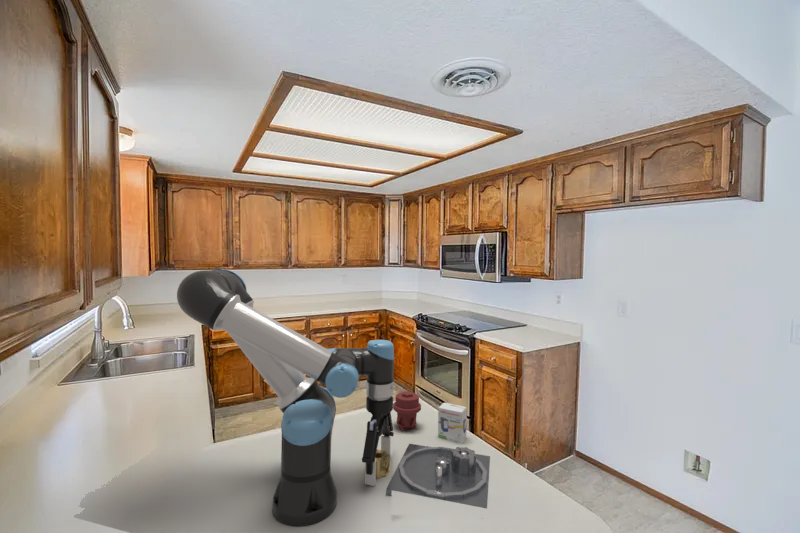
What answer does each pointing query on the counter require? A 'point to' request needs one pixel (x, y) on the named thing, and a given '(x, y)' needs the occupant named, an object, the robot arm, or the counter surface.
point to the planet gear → (382, 463)
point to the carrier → (440, 476)
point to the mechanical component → (407, 409)
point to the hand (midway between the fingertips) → (378, 470)
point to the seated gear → (463, 461)
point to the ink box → (452, 422)
